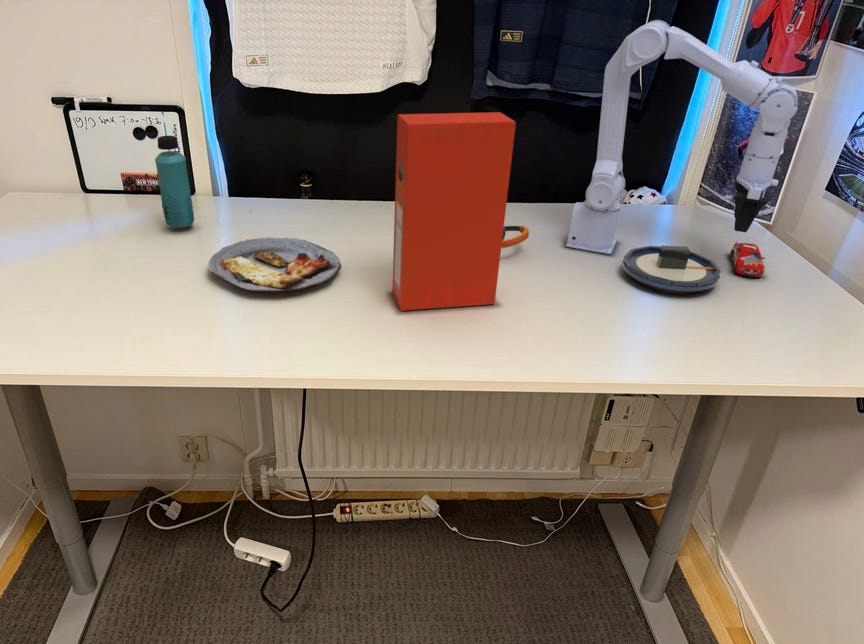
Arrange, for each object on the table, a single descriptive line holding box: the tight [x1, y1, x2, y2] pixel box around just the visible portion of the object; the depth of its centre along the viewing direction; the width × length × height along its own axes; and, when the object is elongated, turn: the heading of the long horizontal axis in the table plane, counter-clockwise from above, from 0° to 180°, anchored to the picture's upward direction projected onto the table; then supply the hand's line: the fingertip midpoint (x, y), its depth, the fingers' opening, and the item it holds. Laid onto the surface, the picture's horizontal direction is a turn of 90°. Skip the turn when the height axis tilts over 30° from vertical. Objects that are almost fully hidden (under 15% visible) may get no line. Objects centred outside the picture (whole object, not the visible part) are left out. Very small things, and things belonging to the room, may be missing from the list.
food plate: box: [208, 236, 342, 293], centre depth 132 cm, size 25×23×4 cm
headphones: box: [501, 225, 530, 249], centre depth 145 cm, size 17×5×20 cm
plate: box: [621, 245, 722, 292], centre depth 132 cm, size 18×18×5 cm
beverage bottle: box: [154, 135, 196, 228], centre depth 146 cm, size 6×7×20 cm
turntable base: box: [635, 279, 698, 295], centre depth 134 cm, size 13×13×2 cm
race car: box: [729, 241, 766, 278], centre depth 139 cm, size 13×5×4 cm, turn 161°
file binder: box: [391, 111, 517, 312], centre depth 116 cm, size 8×17×32 cm, turn 101°
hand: (740, 224), depth 133 cm, fingers open, 7 cm apart
